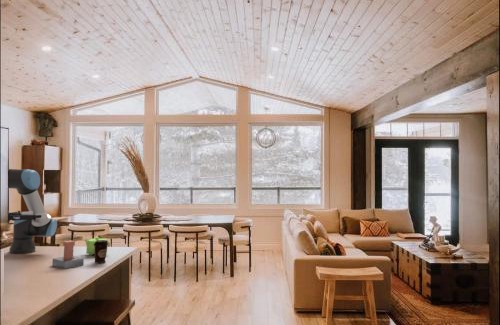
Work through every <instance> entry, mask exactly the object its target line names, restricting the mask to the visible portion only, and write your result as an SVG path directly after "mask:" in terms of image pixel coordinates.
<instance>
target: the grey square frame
mask: <svg viewBox="0 0 500 325" xmlns="http://www.w3.org/2000/svg"><path fill="white" fill-rule="evenodd" d="M84 259H85V258H83V257H80V256H76V255H73V259H69V260H65V259H64V256H60V257H54V258H52V264H51V265H52V267H55V268H60V269H63V270H66V269H71V268H76V267H81V266H84V264H85V263H84Z"/></svg>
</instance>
